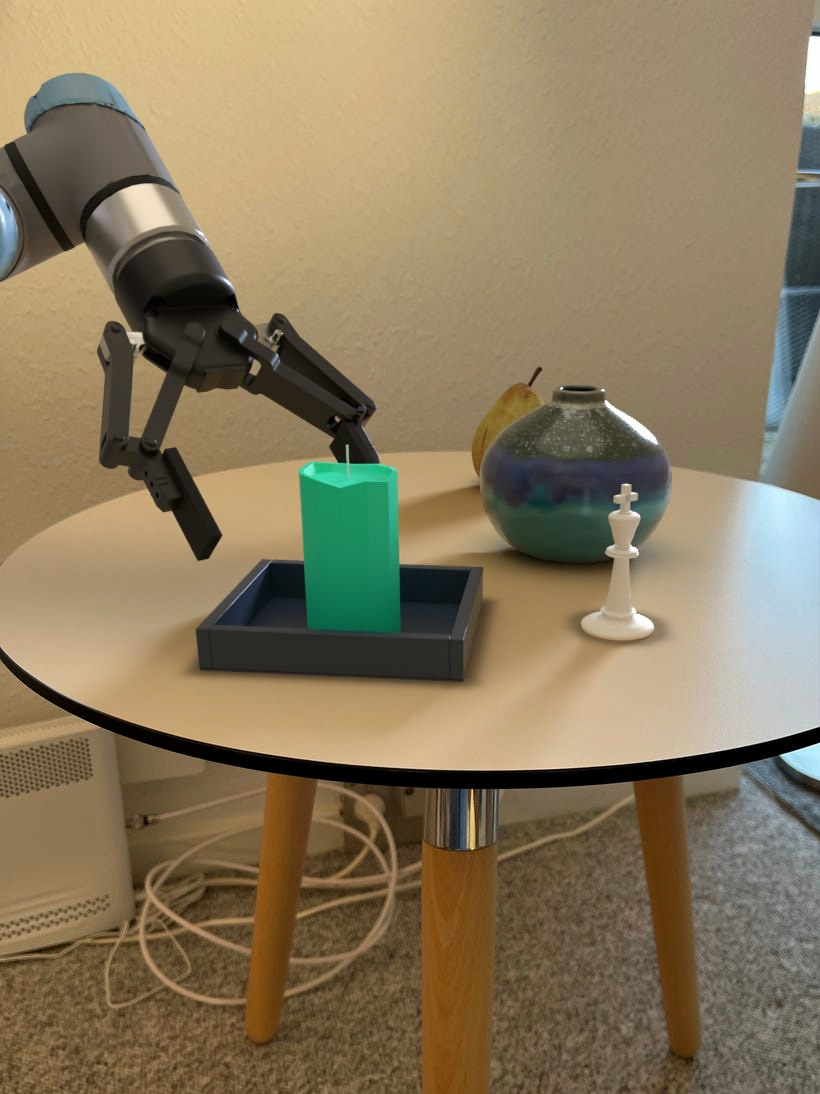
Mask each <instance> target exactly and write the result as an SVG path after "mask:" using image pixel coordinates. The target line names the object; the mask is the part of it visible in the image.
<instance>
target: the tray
mask: <svg viewBox="0 0 820 1094" xmlns="http://www.w3.org/2000/svg"><path fill="white" fill-rule="evenodd" d="M399 573H400V626H401V633H400V632H376V631H351V630H327V629H308V626H307V608H306V590H305V573H304V560H296V559H268V558H265V559H264V558H262V559H261V560H260V561H259V562H258V563H257V564H256V565H255V566H254V567H253V568H252V569H251V570H250V571H249V572H248V573H247V574H246V576H244V577H243V578H242V580H241V581H240V582H238V584H237V585H236V586H234V588H233V589H232V590H231V591H230V592H229V593H228V594H227V595H226V596H225V597H224V598H223V599H222V600H221V601H220V603H218V605H217V606H216V607H215V608H214V609H213V610H212V611H211V612H210V613H209V614H208V615H207V616H206V617H205V618H204V619H203V621H201V623H200V624H199V625H198V626H197V627H196V628H195V638H196V647H197V648H196V649H197V657H198V668H199V671H205V672H207V671H208V672H211V671H212V672H226V673H227V672H229V673H230V672H232V673H250V674H251V673H252V674H253V673H254V674H272V675H273V674H277V675H298V676H300V675H301V676H320V677H321V676H322V677H324V676H325V677H342V678H343V677H344V678H347V677H348V678H365V679H388V680H389V679H390V680H411V681H430V682H431V681H432V682H435V681H436V682H455V683H463V682H464V681H465V677H466V673H467V669H468V664H469V660H470V656H471V652H472V648H473V644H474V640H475V636H476V632H477V627H478V624H479V619H480V615H481V611H482V607H483V603H484V567H483V566H468V565H467V566H466V565H465V566H463V565H442V564H441V565H438V564H436V565H435V564H411V563H410V564H409V563H408V564H407V563H399Z"/></svg>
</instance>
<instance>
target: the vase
mask: <svg viewBox="0 0 820 1094" xmlns="http://www.w3.org/2000/svg"><path fill="white" fill-rule="evenodd" d="M544 403H545V404H543V405H541V406H539V407H537V408H535V409H533V410H531V411H530V412H528V413H526V414H524V415H522V416H521V417H519V418H518V419H516V420H515V421H513V422H512V423H510V424H509V425H507V426H506V427H505V428H503V429H502V430H501V431H500V432H499V433H498V434H497V435H496V436H495V437H494V439H493V440H492V441H491V443H490V444H489V446H488V448H487V449H486V451H485V454H484V456H483V459H482V463H481V467H480V479H479V481H478V483H479V493H480V498H481V502H482V506H483V509H484V512H485V513H486V516H487V518H488V519H489V520H488V521H489V523H490V524H491V526H492V527H493V528H494V530H495V531H496V533H497V534H498V535H499V536H500V537H501V538H502V540H504V541H505V543H507V544H508V545H510V546H511V547H512V548H514V549H516V550H518V552H520V553H523V554H525V555H527V556H529V557H532V558H536V559H538V560H544V561H548V562H554V563H564V564H591V563H600V562H606V561H611V560H614V558H613V557H610V556H608V555H606V554H605V551H606V549H607V547H609V546H613V545H614V544H615V541H614V538H613V535H612V529H611V526H610V523H609V519H608V516H609V514H610V513H612V512H614V511H618V510H620V504H616V503H613V500H614V496H615V495H621V486H622V484H630V485H632V486H631V492H634V493H638V500H636V501H631V502H630V510H631V511H633V512H636V513H637V514H639V515H640V522H639V524H638V526H637V528H636V531H635V534H634V537H633V539H632V541H631V543H630V544H631V545H632V547H635V548H637V549H638V548H639V547H640V546H641V545H643V544H644V543H645V542H646V541H647V540H648V539H650V537H651V536H652V534H653V533H654V532H655V531H656V529H657V528H658V526H659V525H660V523H661V521H662V519H663V517H664V516H665V514H666V511H667V509H668V505H669V502H670V498H671V492H672V489H673V488H672V487H673V486H672V485H673V483H672V481H673V479H672V478H673V473H672V467H671V461H670V459H669V455H668V453H667V452H666V449H665V447H664V446H663V444H662V443H661V441H660V440H659V438H658V437H657V436H655V434H654V433H653V432H652V431H651V430H649V429H648V428H647V427H646V426H644V425H643V424H642V423H641V422H640V421H638V420H636V419H635V418H634V417H632V416H631V415H629V414H628V413H626V412H624V411H623V410H621V409H619V408H618V407H616V406H614V405H613V404H611V403H610V402H609V401H608V400H607V398H606V390H605V388H603V387H600V386H595V385H585V384H567V385H558V386H555V387H554V388H553V389H552V394H551V397H550V399H549V400H548V401H546V402H544Z"/></svg>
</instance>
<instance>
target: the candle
mask: <svg viewBox="0 0 820 1094" xmlns="http://www.w3.org/2000/svg"><path fill="white" fill-rule="evenodd" d="M346 460H347V464H346V463H338V462H331V461H329V462H328V461H325V462H323V461H309V462H307V463H306V464H305V465H303V466H301V467H300V468H299V469H298V480H299V481H298V482H299V497H300V498H299V499H300V516H301V533H302V534H301V535H302V552H303V553H302V555H303V561H304V573H305V590H306V608H307V626H308V629H327V630H351V631H376V632H400V633H401V626H400V573H399V564H400V530H399V529H400V528H399V527H400V526H399V484H398V483H399V481H398V480H399V479H398V478H399V476H398V474H399V471H398V470H397V469H396V468H395V466H390V465H386V464H381V463H379V464H349V449H348V445H346Z"/></svg>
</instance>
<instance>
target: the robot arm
mask: <svg viewBox="0 0 820 1094" xmlns="http://www.w3.org/2000/svg"><path fill="white" fill-rule="evenodd" d="M23 123H24V128H25V131H26V134H23V135H21V136H19V137H17V138H15V139H14V140H12V141H10V142H8V143H5V144H4V145H3V146H1V147H0V284H1V283H3V282H4V281H7V280H10V279H11V278H13V277H15V276H18V275H20V274H22V273H24V272H26V271H28V270H30V269H32V268H34V267H36V266H38V265H40V264H42V263H44V262H46V261H48V260H50V259H52V258H54V257H57V256H58V255H60V254H63V253H64V252H65V253H66V252H69V251H71V250H73V249H75V248H76V247H78V246H80V245H83V244H85V245H86V247H87V249H88V251H89V252H90V254H91V256H92V258H93V259H94V261H95V264H96V265H97V267H98V269H99V271H100V272H101V275H102V276H103V279H104V281H105V282H106V284H107V286H108V288H109V289H110V292H111V293H112V294H113V295H114V299H115V302H116V305H117V306H118V308H119V310H120V312H121V313H122V316H123V318H124V319H125V321H126V323H127V325H128V327H129V328H130V330H131V331H127V330H126V328H125V326H124V325H123V324H121V323H120V322H118V321H116V320H109V321H107V322H105V326H104V328H103V331H102V334H101V338H100V340H99V343H98V346H97V348H96V354H97V357H98V360H99V362H100V365H101V367H102V370H103V372H104V381H103V397H102V408H101V409H102V410H101V423H100V436H99V437H100V438H99V450H98V461H99V464H100V465H101V466H102V467H104V468H106V469H109V470H115V469H116V468H118V467H119V466H121V467H128V468H127V473H128V476H129V477H130V478H131V479H133V480H135V481H143V483H144V485H145V487H146V489H147V491H148V493H149V494H150V497H151V499H152V500H153V502H154V505H155V506H156V507H157V508H158V509H159V510H160V512H162V513H169V512H171V513H172V514H173V516H174V518H175V520H176V522H177V524H178V526H179V528H180V530H181V532H182V534H183V536H184V538H185V540H186V541H187V544H188V545H189V547H190V549H191V551H192V553H193V555H194V557H195V559H196V561H197V562H201V561H205V560H209V559H210V557H211V555H212V554H213V552H214V551H215V549H216V547H217V546H218V544H219V542H220V541H221V539H222V537H223V533H222V532H221V530H220V527H219V525H218V524H217V522H216V520H215V518H214V515H213V514H212V512H211V510H210V509H209V507H208V504H207V503H206V500H205V499H204V497H203V496H202V493H201V492H200V490H199V487H198V486H197V484H196V482H195V480H194V478H193V477H192V474H191V472H190V471H189V468H188V467H187V465H186V463H185V462H184V459H183V457H182V455H181V453H180V451H179V450H178V448H177V446H175V447H167V448H164V450H163V452H162V451H161V448H162V445H163V442H164V439H165V437H166V435H167V432H168V428H169V426H170V423H171V421H172V418H173V415H174V413H175V411H176V408H177V405H178V403H179V399H180V397H181V395H182V392H183V389H184V387H187V388H189V389H192V390H195V391H196V393H197V394H200V393H208V392H210V391H213V390H217V389H218V390H219V389H220V390H227V391H229V390H238V388H239V387H240V388H242V389H243V390H245V391H246V392H248V393H250V395H251V394H252V395H253V396H257V395H262V396H264V397H266V398H267V399H269V400H271V401H272V402H274V403H276V404H277V405H279V406H280V407H282V408H283V409H285V410H287V411H289V412H290V413H292V414H293V415H295V416H297V417H298V418H300V419H302V420H303V421H305V422H306V423H308V424H309V425H311V426H313V427H315V428H316V429H318V430H319V431H321V432H322V433H324V434H326V435H327V436H329V437H330V438H332V441H331V443H330V444H329V446H328V447H329V450H330V452H331V453H332V455H333V457H334V458H335V460H336V463H346V464H347V460H346V445H348V449H349V464H381V458H380V455H379V453H378V452H377V450H376V448H375V447H374V445H373V442H372V441H371V439H370V437H369V435H368V434H367V432H366V431H365V427H366V426H367V424H368V423H369V421H370V420H371V418H372V417H373V416H374V414H375V412H376V411H377V409H378V406H377V404H376V402H375V401H374V400H373V399H372V398H371V397H370V396H368V395H367V394H366V393H365V392H364V391H362V389H360V388H359V387H358V386H357V385H356V384H355V383H353V382H352V381H351V380H350V379H349V378H348V377H347V376H345V375H344V373H342V372H341V371H340V370H339V369H337V368H336V367H335V366H334V365H333V364H332V363H331V362H330V361H328V360H327V359H326V358H325V357H324V356H322V354H320V353H319V352H318V351H317V350H316V349H315V348H313V346H311V345H310V344H309V343H308V342H307V341H306V340H305V339H304V338H302V337H301V336H300V335H299V333H298V332H297V330H296V329H295V328H294V326H293V325H292V323H291V322H290V320H289V318H288V317H286V315H285V314H283V313H281V312H275V313H273V314H272V316H271V318H270V320H269V321H268V322H265V323H259V324H253V323H252V322H251V321H250V320H249V319H247V317H245V315H243V313H242V312H241V310H240V306H239V303H238V299H237V293H236V291H235V287H234V286H233V283H232V282H231V281H230V278H229V277H228V275H227V273H226V271H225V270H224V268H223V266H222V265H221V263H220V260H219V259H218V257H217V255H216V254H215V252H214V251H213V250H212V249H211V245H210V242H209V240H208V238H207V236H206V235H205V233H204V231H203V230H202V228H201V226H200V225H199V223H198V221H197V220H196V218H195V216H194V214H193V213H192V211H191V210H190V208H189V206H188V205H187V203H186V200H185V199H184V198H183V196H182V194H181V192H180V191H179V189H178V187H177V185H176V183H175V181H174V180H173V178H172V176H171V174H170V172H169V170H168V168H167V167H166V165H165V162H164V161H163V159H162V158H161V155H160V153H159V152H158V150H157V148H156V146H155V144H154V142H153V141H152V139H151V137H150V135H149V134H148V132H147V130H146V128H145V125H144V123H143V122H142V121H141V120H139V118H138V117H137V116H136V114H135V112H134V110H132V108H131V106H130V105H129V104H128V102H127V100H126V98H125V97H124V95H123V94H122V93H121V92H120V91H119V89H117V87H116V86H115V85H113V84H112V83H111V82H109V81H108V80H106V79H104V78H102V77H100V76H97V75H94V74H91V73H86V72H67V73H63V74H60V75H56V76H54V77H52V78H50V79H48V80H46V81H44V82H42V83H41V84H40V87H39V89H38V91H37V92H36V93H35V94H34V95H32V96H30V97H29V99H28V101H27V103H26V105H25V108H24V113H23ZM139 355H141V356H142V357H143V358H144V359H145V360H146V361H148V362H149V363H150V364H152V365H154V366H155V367H157V368H159V369H160V370H161V371H162V372H164V373H165V376H164V378H163V381H162V383H161V386H160V389H159V391H158V393H157V396H156V398H155V401H154V403H153V405H152V409H151V411H150V412H149V413H150V414H149V416H148V419H147V421H146V424H145V426H144V429H143V431H142V434H141V436H140V437H137V436H130V431H131V430H130V429H131V411H132V395H133V394H132V393H133V376H134V365H135V364H136V362H137V359H138V357H139ZM254 360H255V361H256V362H258V364H259V365H260V368H259V369H258V371H257V373H256V374H252V373H251V370H252V368H253V365H254ZM336 418H337V419H339V420H338V421H337V419H336Z"/></svg>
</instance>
